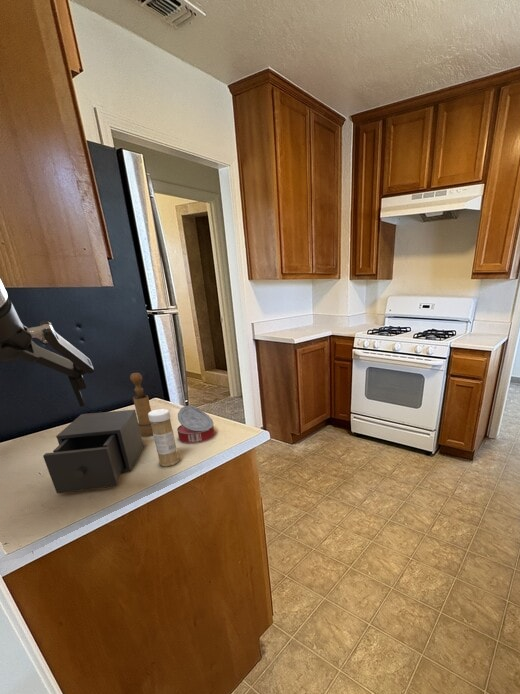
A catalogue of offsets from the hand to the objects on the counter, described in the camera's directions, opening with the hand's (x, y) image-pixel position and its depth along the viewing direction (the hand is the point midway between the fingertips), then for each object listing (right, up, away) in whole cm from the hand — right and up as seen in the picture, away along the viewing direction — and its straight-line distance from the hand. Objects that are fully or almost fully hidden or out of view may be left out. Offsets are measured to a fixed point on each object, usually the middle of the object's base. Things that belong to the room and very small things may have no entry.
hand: (33, 410), depth 59 cm
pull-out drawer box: (-3, -13, +21) cm, 25 cm away
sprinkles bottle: (+10, -11, +28) cm, 32 cm away
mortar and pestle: (-4, -4, +47) cm, 47 cm away
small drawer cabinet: (-5, -11, +30) cm, 32 cm away
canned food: (+12, -5, +43) cm, 45 cm away
